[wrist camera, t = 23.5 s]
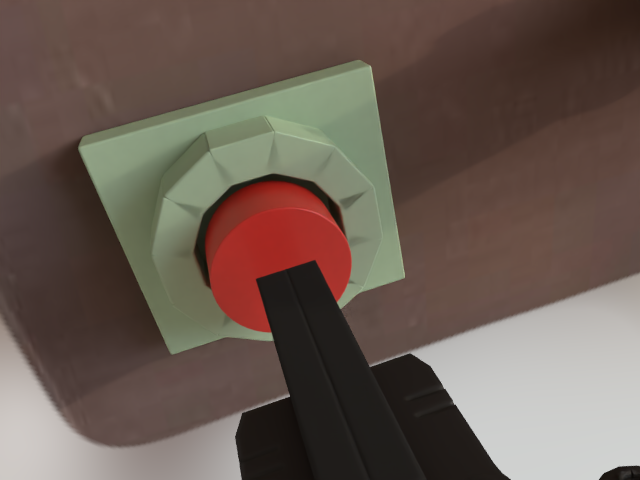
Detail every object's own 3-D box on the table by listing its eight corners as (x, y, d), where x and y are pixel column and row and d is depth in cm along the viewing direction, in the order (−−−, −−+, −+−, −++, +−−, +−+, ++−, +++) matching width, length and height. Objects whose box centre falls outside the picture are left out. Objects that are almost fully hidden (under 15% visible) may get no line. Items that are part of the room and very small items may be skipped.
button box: (170, 336, 21) (171, 390, 18) (81, 136, 17) (67, 169, 14) (394, 263, 22) (425, 304, 19) (359, 58, 18) (393, 76, 16)
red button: (226, 311, 18) (233, 350, 16) (186, 203, 16) (189, 233, 14) (343, 274, 19) (363, 307, 17) (318, 163, 17) (337, 188, 15)
